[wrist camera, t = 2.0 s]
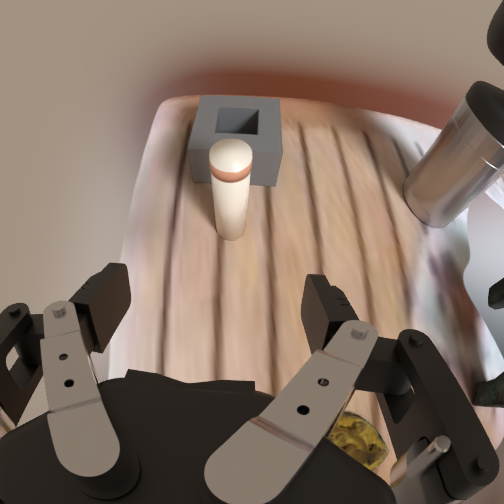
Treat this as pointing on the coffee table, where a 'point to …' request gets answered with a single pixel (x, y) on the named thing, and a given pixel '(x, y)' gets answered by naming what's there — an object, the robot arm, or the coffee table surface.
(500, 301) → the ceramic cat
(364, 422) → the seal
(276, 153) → the hole block
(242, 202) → the dowel
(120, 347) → the coffee table surface
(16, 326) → the robot arm
